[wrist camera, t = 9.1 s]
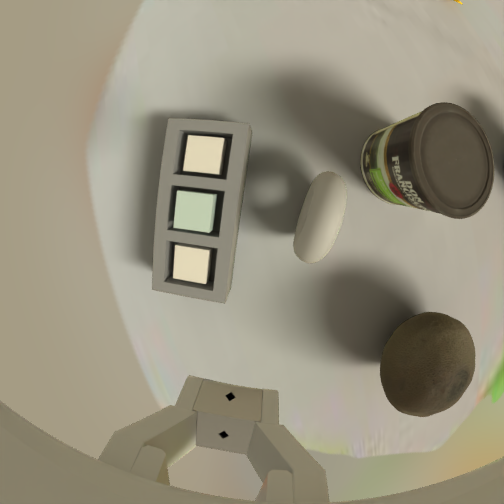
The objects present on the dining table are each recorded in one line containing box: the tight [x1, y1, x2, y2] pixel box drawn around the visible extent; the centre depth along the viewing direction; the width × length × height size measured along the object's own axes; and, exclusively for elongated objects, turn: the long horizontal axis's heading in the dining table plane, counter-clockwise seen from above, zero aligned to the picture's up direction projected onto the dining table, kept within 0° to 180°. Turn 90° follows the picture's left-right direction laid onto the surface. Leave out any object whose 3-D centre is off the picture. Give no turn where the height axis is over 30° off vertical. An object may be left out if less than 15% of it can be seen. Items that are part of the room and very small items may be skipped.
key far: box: [173, 242, 213, 284], centre depth 33 cm, size 4×4×2 cm
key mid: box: [173, 190, 217, 233], centre depth 30 cm, size 4×4×2 cm
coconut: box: [380, 312, 475, 417], centre depth 30 cm, size 14×14×15 cm
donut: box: [293, 171, 347, 263], centre depth 29 cm, size 10×4×10 cm, turn 163°
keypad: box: [152, 118, 252, 303], centre depth 32 cm, size 20×9×5 cm, turn 172°
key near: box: [183, 135, 227, 175], centre depth 30 cm, size 4×4×2 cm
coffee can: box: [361, 103, 494, 219], centre depth 25 cm, size 10×10×14 cm
